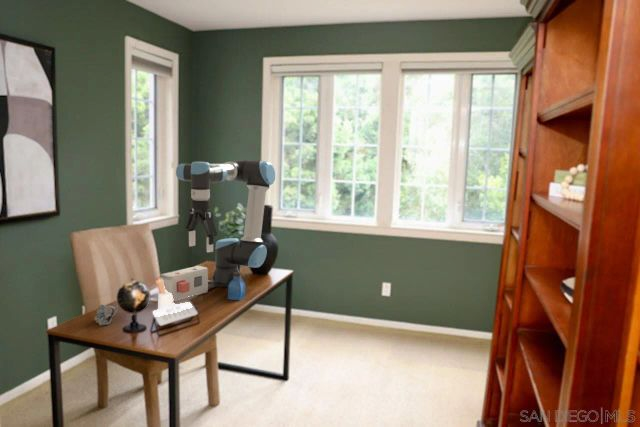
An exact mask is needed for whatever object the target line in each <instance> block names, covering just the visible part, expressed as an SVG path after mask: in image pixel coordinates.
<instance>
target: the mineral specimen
mask: <svg viewBox="0 0 640 427" xmlns="http://www.w3.org/2000/svg"><path fill="white" fill-rule="evenodd" d="M118 310H119V305H105V304H100V305H99V307H98V309H97V312H96V315H95V316H94V321H95V324H98V326H99V327H101V326H107V325H110V324H111V322H112V318H113V317H114V315H115V314H116V313H117V311H118Z"/></svg>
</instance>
